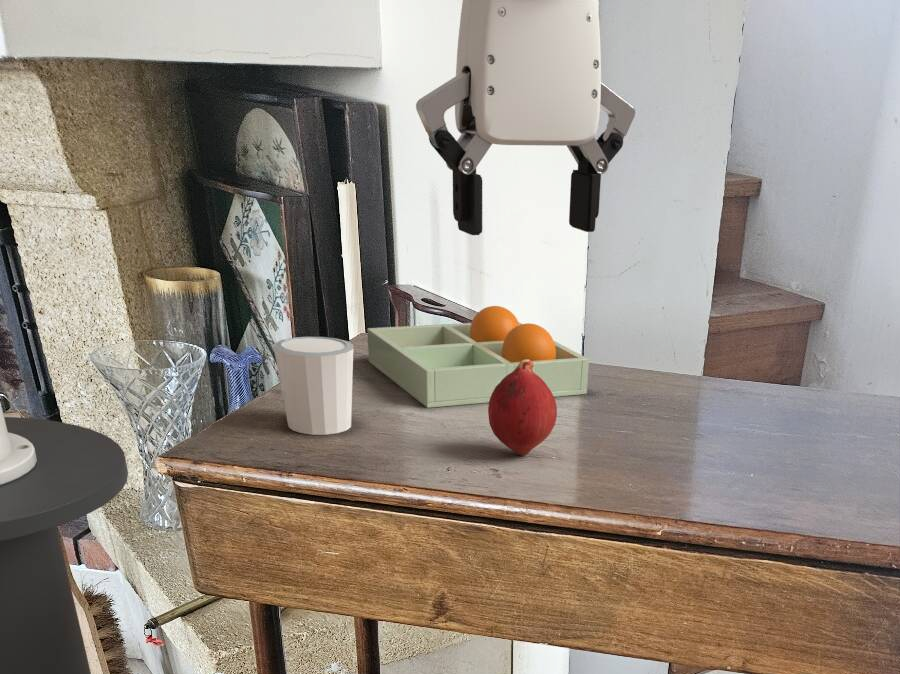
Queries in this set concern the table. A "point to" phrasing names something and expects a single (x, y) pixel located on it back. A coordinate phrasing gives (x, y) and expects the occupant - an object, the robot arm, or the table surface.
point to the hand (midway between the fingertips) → (527, 230)
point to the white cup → (316, 383)
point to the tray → (462, 364)
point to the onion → (522, 409)
